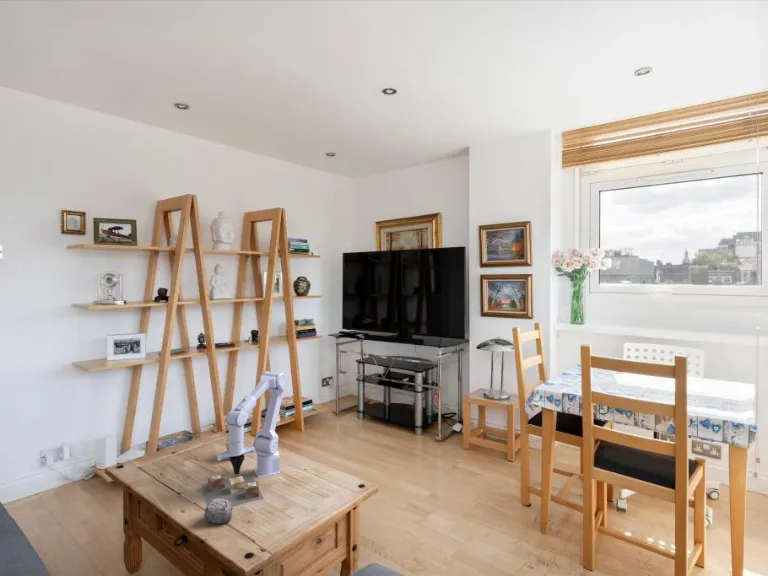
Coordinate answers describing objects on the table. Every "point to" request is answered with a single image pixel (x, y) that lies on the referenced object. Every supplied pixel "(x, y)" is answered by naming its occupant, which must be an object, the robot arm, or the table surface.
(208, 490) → the slate mat
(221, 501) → the pumice stone
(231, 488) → the plain block
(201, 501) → the table surface
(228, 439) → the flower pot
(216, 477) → the walnut block
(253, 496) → the walnut block
